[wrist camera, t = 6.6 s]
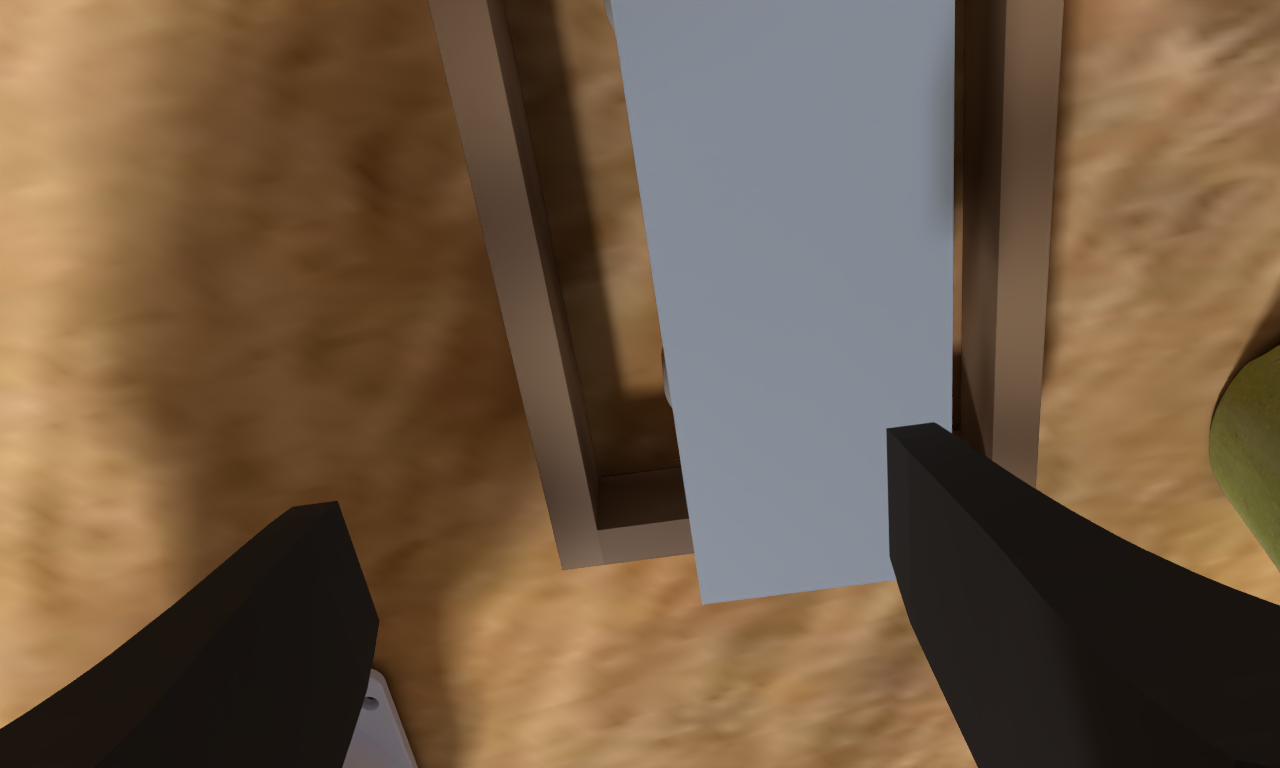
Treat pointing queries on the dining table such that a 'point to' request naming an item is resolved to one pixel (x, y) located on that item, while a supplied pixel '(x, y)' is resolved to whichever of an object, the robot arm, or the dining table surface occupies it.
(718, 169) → the blue-grey rectangular block
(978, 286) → the peg frame
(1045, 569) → the robot arm
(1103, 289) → the dining table surface
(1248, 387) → the plant pot
